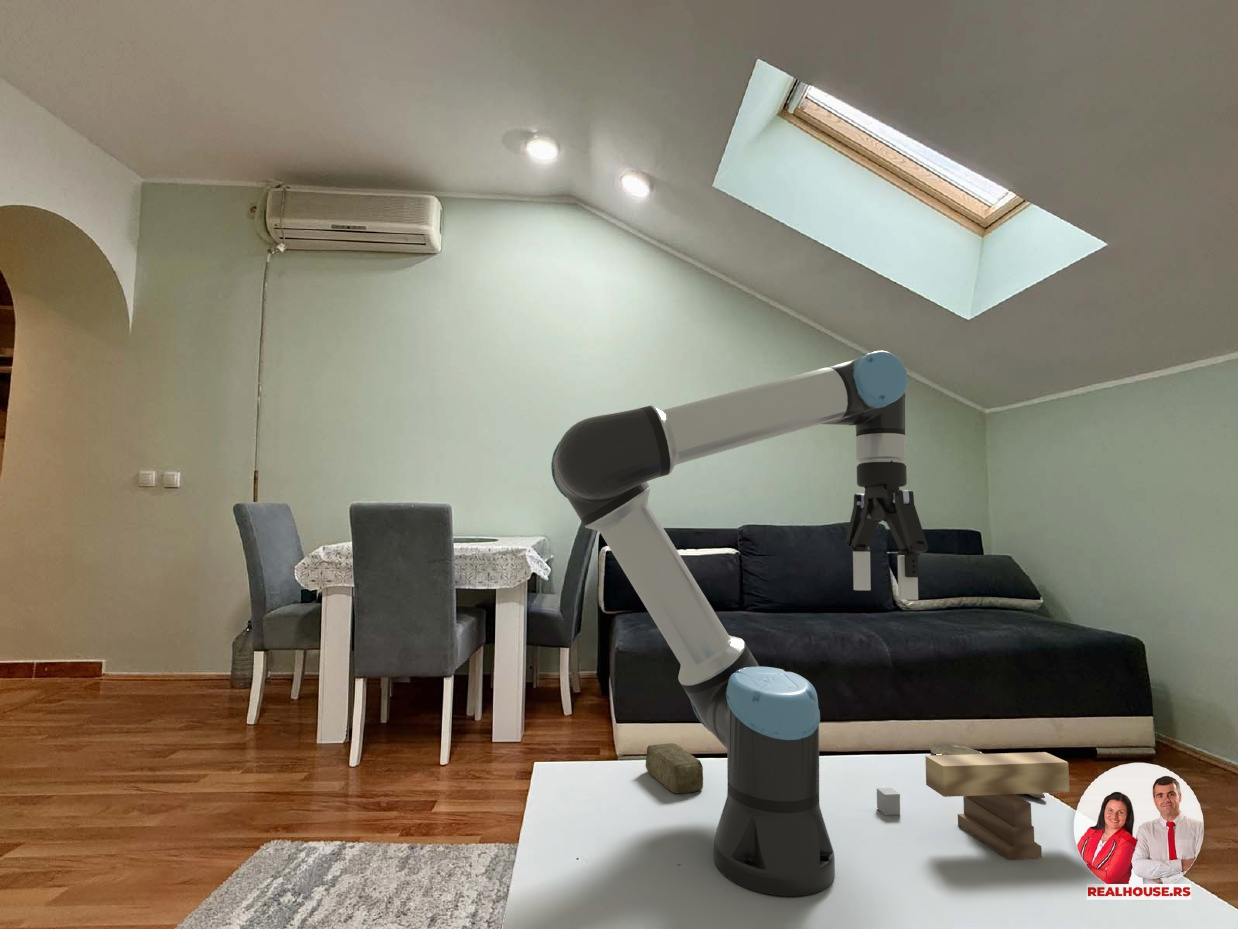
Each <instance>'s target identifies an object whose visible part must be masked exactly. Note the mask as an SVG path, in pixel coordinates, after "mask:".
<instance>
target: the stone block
mask: <svg viewBox="0 0 1238 929" xmlns="http://www.w3.org/2000/svg"><path fill="white" fill-rule="evenodd" d="M645 769H646V771H647V773H649V774H650V775H651V776H652V777H653V779H655V780H657V782H659V783H660V784H662V785H663V786H664V787H665V788H666V789H667V790H669V791H670V792H671V793H674V794H681V795H682V794H688V793H696V792H698V791H699V792H700V791H702V790H703V787H704V768H703V764H702V762H701V760H699V759H698V758H696V757H695V756H694V755H692V754H691V753H690V752H688V751H687V750H685V749H683V748H682V747H681V746H680V745H677V744H676V743H671V742H670V743H661V744H660V743H659V744H651V745H648V746H647V747H646V758H645Z"/></svg>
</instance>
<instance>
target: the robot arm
mask: <svg viewBox="0 0 1238 929" xmlns="http://www.w3.org/2000/svg"><path fill="white" fill-rule="evenodd" d="M907 373H908V372H907V370H906V367H905V364H904V362H903V361H902V360H901V359H900V358H899V357H898V356H897V355H895V354H894V353H892V352H889V351H885V350H876V351H873V352H870V353H865V354H862V355H860V356H859V357H858V358H856V359H853V360H849V361H846V362H842V363H837V364H833V365H831V366H828V367H822V368H818V369H814V370H811V371H807V372H803V373H800V374H795V375H791V376H788V377H783V378H781V379H777V380H773V381H769V382H765V383H762V384H758V385H752V386H750V387H746V388H743V389H739V390H734V391H729V392H727V393H724V394H719V395H716V396H712V397H708V398H705V399H701V400H697V401H693V402H688V403H685V404H682V405H677V406H672V407H669V408H666V409H663V410H661V409H659V408H658V407H656V406H654V405H651V404H650V405H648V406H643V407H638V408H634V409H630V410H624V411H619V412H614V413H608V414H602V415H597V416H591V417H587V418H584V419H582V420H579V421H578V422H576V423H575V424H573V425H572V426H570V428H569V429H568V430H567V431H565V433H564V434H563V436H562V437H561V439H560V440H559V442H558V444H557V445H556V447H555V449H554V451H553V453H552V457H551V466H550V467H551V468H550V469H551V475H552V480H553V482H554V484H555V486H556V488H557V490H558V492H559V493H560V494H561V495H563V496H564V497H565V498H566V499H567V500H568V502H569V503H570V504H571V507H572V509H573V510H574V512H575V513H576V514H577V516H578V518H579V519H580V521H581V523H582V524H583V526H584V527H585V528H586V529H590V530H594V531H597V532H599V533H600V535H601V537H602V539H604V541H605V543H606V544H607V546H608V548H609V550H610V551H611V553H612V554H613V556H614V558H615V559H616V561H617V563H618V564H619V566H620V567H621V570H622V571H623V573H624V574H625V576H626V578H627V579H628V581H629V582H630V584H631V586H632V587H633V589H634V591H635V592H636V594H637V595H638V597H639V598H640V600H641V602H642V603H643V605H644V607H645V608H646V610H647V612H648V613H649V615H650V617H651V618H652V620H653V621H654V623H655V625H656V626H657V628H658V629H659V632H660V633H661V634H662V636H663V638H664V640H665V641H666V643H667V645H668V646H669V648H670V650H671V651H672V652H673V654H674V656H675V657H676V659H677V661H678V663H679V664H680V669H679V673H678V676H677V678H678V682H679V683H680V685H681V687H682V688H683V690H684V692H685V693H686V695H687V696H688V698H689V700H690V704H691V706H692V709H693V713H694V714H695V717H696V719H698V720H699V722H700V723H701V725H702V726H703V727H704V728H705V729H706V730H708V731H709V732H710V733H712V735H713V736H714V737H715V738H716V739H717V740H718V741H719V742H720V743H721V744H722V746H724V747H725V748H726V750H727V758H726V759H727V760H726V761H727V774H726V775H727V777H726V778H727V790H726V791H727V795H726V799H725V803H724V805H723V809H722V812H721V814H720V818H719V821H718V824H717V827H716V830H715V834H714V837H713V862H714V864H715V866H716V867H717V869H718V870H719V871H720V872H721V873H722V875H724V876H725V877H726V878H728V880H731V881H732V882H734V883H736V884H737V885H738V886H742V887H744V888H746V889H749V890H751V891H754V892H758V893H763V894H766V895H772V896H780V897H781V896H782V897H799V896H808V895H812V894H816V893H818V892H821V891H823V890H825V889H827V888H828V887H829V886H830V885H831V884H832V883H833V881H834V879H835V876H836V873H835V872H836V869H835V868H836V866H835V865H836V863H835V862H836V860H835V857H836V856H835V852H834V848H833V844H832V842H831V839H830V836H829V833H828V829H827V826H826V823H825V819H824V817H823V814H822V810H821V806H820V722H821V713H820V711H821V710H820V709H819V700H818V694H817V691H816V688H815V687H814V685H813V684H812V683H811V682H810V681H809V680H808V679H806V678H805V677H803V676H801V675H800V674H798V673H795V672H792V671H785V669H783V668H782V669H781V668H777V667H771V666H770V667H769V666H760V665H759V664H758V661H757V660H756V659H755V657H754V656H753V654H752V652H751V650H750V649H749V647H748V645H747V644H746V642H745V641H744V640H743V638H740V637H737V636H734V635H733V636H732V635H729V633H728V632H727V630H726V628H725V627H724V625H723V624H722V622H721V621H720V619H719V617H718V615H717V614H716V612H715V610H714V608H713V607H712V605H711V604H710V602H709V601H708V599H707V597H706V596H705V594H704V593H703V591H702V589H701V588H700V586H699V584H698V583H697V581H696V579H695V578H694V576H693V574H692V573H691V571H690V570H689V568H688V566H687V565H686V563H685V561H684V560H683V558H682V556H681V555H680V553H679V552H678V550H677V548H676V547H675V544H674V543H673V542H672V540H671V538H670V536H669V535H668V533H667V532H666V530H665V529H664V527H663V525H662V524H661V521H660V520H659V519H658V517H657V516H656V513H655V512H654V510H653V509H652V507H651V505H650V504H649V496H650V491H651V485H649V483H648V482H650V481H652V480H656V479H657V478H661V477H665V476H668V475H670V474H671V473H673V470H674V468H675V466H677V465H679V464H684V463H687V462H691V461H694V460H697V459H702V458H705V457H708V456H711V455H712V456H713V455H715V454H718V453H722V452H726V451H730V450H733V449H736V448H740V447H744V446H747V445H751V444H754V443H757V442H761V441H764V440H768V439H769V440H770V439H771V438H772V439H773V438H775V437H779V436H782V435H786V434H789V433H794V432H797V431H799V430H800V431H801V430H803V429H807V428H810V427H815V426H818V425H833V426H834V425H835V426H837V425H839V426H855V449H856V452H855V457H856V461H858V462H859V463H858V464H857V466H856V485H857V486H858V487H860V488H864V493H854V495H853V507H852V511H851V515H850V520H849V521H850V522H849V523H848V524H849V525H848V529H847V533H846V538H845V547H848V548H850V551H851V552H852V558H853V559H852V564H853V565H852V569H853V570H852V572H853V575H852V576H853V590H854V591H871V589H872V587H871V585H872V584H871V548H870V543H871V541H872V540H873V539H872V538H873V536H874V533H876V532H875V531H876V529H877V526H878V524H879V523H880V522H881V523H882V521H883V522H884V523H886V525H887V527H888V529H889V530H890V534H891V535H892V537H893V539H894V542H895V543H896V545H897V547H898V549H899V550H898V552H896V554H897V586H898V588H897V592H898V595H897V597H898V600H900V601H907V600H909V601H918V600H919V579H918V576H919V556H921V553H925V552H927V551H928V550H929V545H928V542H927V539H926V536H925V534H924V530H923V527H922V524H921V520H920V517H919V515H918V512H917V508H916V505H915V499H914V498H915V497H914V492H913V490H911V489H900V488H903V487H905V486H906V485H907V483H908V482H907V481H908V479H907V476H908V475H907V465H906V464H905V463H904V462H902V461H904V460H906V459H907V455H906V454H907V452H906V451H907V450H906V448H907V444H906V395H907V394H906V389H907V387H908V382H909V381H908V380H909V378H908V374H907Z"/></svg>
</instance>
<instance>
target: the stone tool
mask: <svg viewBox="0 0 1238 929" xmlns="http://www.w3.org/2000/svg"><path fill="white" fill-rule="evenodd" d="M928 747H929V749H930V753H931V754H933V755H935V754H942V755H967V754H983V753H982V752H980V751H978V750H976V749H973V748H971V747H968V746H966V745H964V744H961V743H957V742H952V741H951V742H950V741H945V742H944V741H938V742H933V743H930V744H929V746H928ZM1027 795H1028V796H1031V797H1032V798H1036V799H1045V798H1046V795H1045V793H1029V794H1027Z"/></svg>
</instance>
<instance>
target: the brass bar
mask: <svg viewBox="0 0 1238 929" xmlns="http://www.w3.org/2000/svg"><path fill="white" fill-rule="evenodd" d="M1069 776H1070V774H1069V762H1068V761H1066V760H1064V759H1061V758H1059V757H1057V756H1055V755H1053V754H1051V753H1048V752H1046V751H1043V752H1042V751H1041V752H1040V751H1038V752H1008V753H1007V752H1005V753H982V754H967V755H935V754H933V755H925V785H926V786H928V787H929V788H930V789H931V790H933V791H935V792H936V793H938V794H939V795H941V796H942V797H944V798H948V797H950V798H951V797H963V796H978V795H1003V794H1015V795H1024V794H1025V795H1028V794H1029V793H1043V794H1048V793H1050V794H1051V793H1053V794H1054V793H1055V794H1056V793H1070V777H1069Z"/></svg>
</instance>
